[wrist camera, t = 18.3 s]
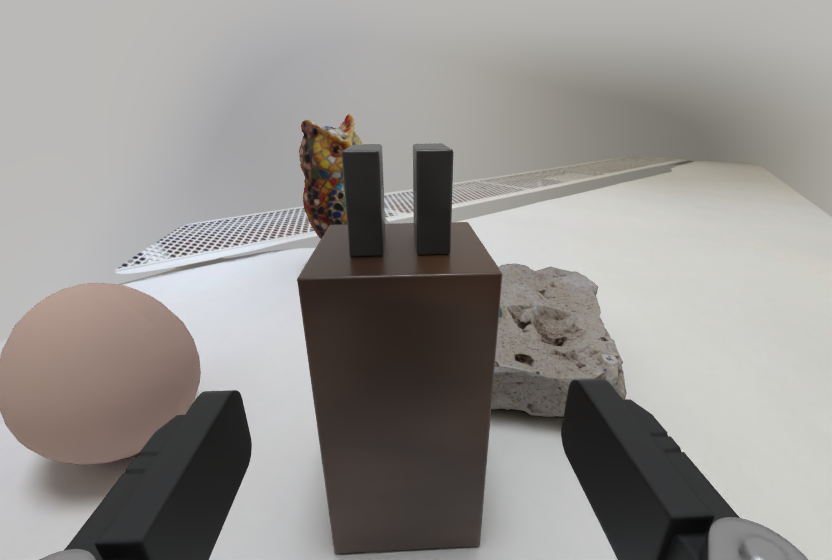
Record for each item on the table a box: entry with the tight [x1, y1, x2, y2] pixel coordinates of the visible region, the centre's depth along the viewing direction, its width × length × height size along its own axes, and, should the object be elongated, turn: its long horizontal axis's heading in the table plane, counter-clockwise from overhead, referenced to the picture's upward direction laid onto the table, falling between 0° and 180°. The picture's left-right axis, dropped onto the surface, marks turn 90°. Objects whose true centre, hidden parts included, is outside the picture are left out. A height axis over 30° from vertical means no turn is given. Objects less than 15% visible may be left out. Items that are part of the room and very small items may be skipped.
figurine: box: [299, 114, 389, 239], centre depth 39 cm, size 9×9×15 cm
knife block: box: [297, 144, 502, 554], centre depth 14 cm, size 5×5×14 cm
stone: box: [491, 264, 626, 417], centre depth 24 cm, size 13×6×10 cm
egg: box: [0, 283, 201, 465], centre depth 18 cm, size 7×7×8 cm
